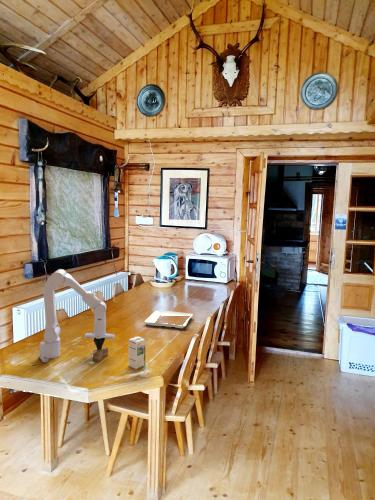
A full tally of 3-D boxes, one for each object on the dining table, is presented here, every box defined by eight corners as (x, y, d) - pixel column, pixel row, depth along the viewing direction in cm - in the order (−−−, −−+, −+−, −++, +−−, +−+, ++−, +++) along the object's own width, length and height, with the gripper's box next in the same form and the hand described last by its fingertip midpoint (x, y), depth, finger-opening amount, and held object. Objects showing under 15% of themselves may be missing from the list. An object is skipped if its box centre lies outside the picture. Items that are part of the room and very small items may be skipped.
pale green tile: (90, 361, 178) (90, 361, 178) (95, 362, 177) (95, 362, 177) (87, 363, 176) (87, 362, 176) (92, 364, 175) (92, 363, 175)
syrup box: (136, 372, 171) (136, 341, 170) (128, 367, 175) (128, 338, 174) (145, 368, 176) (146, 339, 174) (137, 364, 180) (137, 335, 178)
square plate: (155, 314, 263) (155, 309, 262) (193, 318, 257) (193, 313, 257) (143, 326, 236) (143, 320, 236) (185, 331, 231) (185, 325, 230)
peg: (87, 361, 177) (87, 352, 177) (103, 353, 188) (103, 344, 187) (94, 363, 175) (94, 354, 175) (110, 355, 186) (110, 346, 185)
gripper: (83, 328, 181) (83, 354, 182) (112, 329, 181) (112, 355, 183) (86, 323, 188) (86, 349, 189) (115, 324, 188) (115, 350, 190)
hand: (99, 352), depth 186 cm, fingers closed
